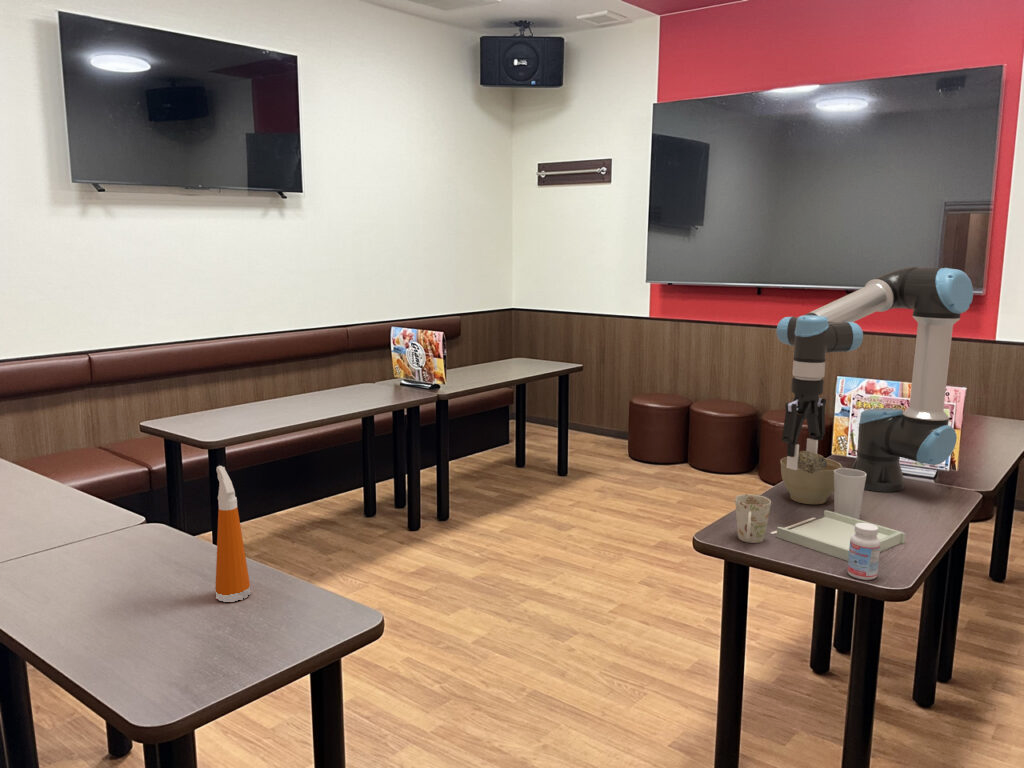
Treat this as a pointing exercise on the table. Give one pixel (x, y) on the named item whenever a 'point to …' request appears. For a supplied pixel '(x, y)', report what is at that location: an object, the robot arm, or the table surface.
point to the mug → (752, 517)
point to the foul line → (795, 524)
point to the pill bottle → (864, 552)
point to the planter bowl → (809, 482)
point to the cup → (848, 491)
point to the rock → (811, 461)
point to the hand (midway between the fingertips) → (801, 466)
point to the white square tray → (836, 535)
